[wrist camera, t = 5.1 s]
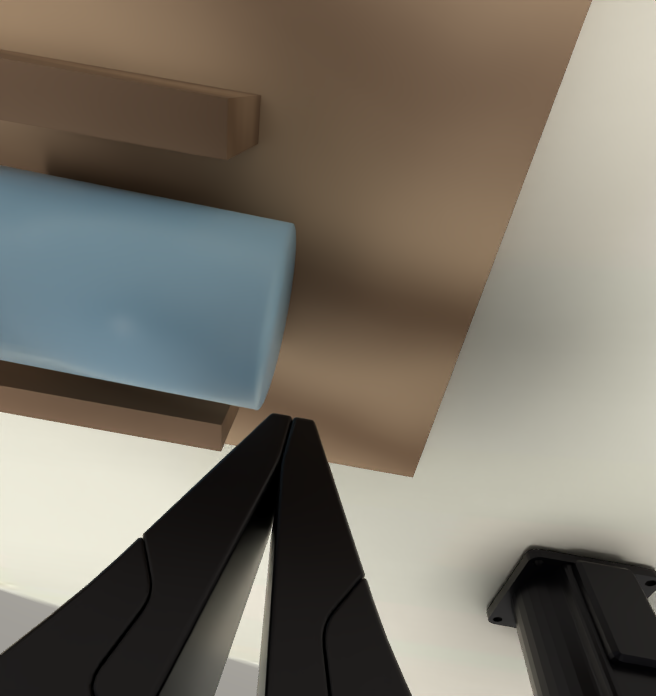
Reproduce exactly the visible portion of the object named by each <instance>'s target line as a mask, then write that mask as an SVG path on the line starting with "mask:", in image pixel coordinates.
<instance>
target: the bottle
mask: <svg viewBox="0 0 656 696" xmlns="http://www.w3.org/2000/svg"><path fill="white" fill-rule="evenodd" d="M295 255H296V229H295V226H294V224H293V223H289V222H284V221H279V220H274V219H269V218H264V217H259V216H254V215H249V214H244V213H239V212H234V211H229V210H224V209H219V208H214V207H209V206H204V205H198V204H193V203H188V202H183V201H178V200H173V199H168V198H163V197H158V196H153V195H148V194H143V193H138V192H133V191H128V190H123V189H118V188H113V187H108V186H103V185H98V184H93V183H88V182H83V181H78V180H73V179H68V178H62V177H57V176H52V175H47V174H42V173H37V172H32V171H27V170H22V169H17V168H12V167H7V166H2V165H0V360H3V361H9V362H14V363H19V364H24V365H29V366H34V367H39V368H44V369H50V370H55V371H60V372H65V373H70V374H75V375H80V376H85V377H91V378H96V379H101V380H106V381H111V382H116V383H121V384H126V385H132V386H137V387H142V388H147V389H152V390H157V391H162V392H167V393H173V394H178V395H183V396H188V397H193V398H198V399H203V400H209V401H214V402H219V403H224V404H229V405H234V406H239V407H244V408H250V409H255V410H259V409H260V408H261V406H262V404H263V403H264V400H265V398H266V396H267V393H268V390H269V387H270V384H271V381H272V378H273V375H274V371H275V367H276V364H277V360H278V356H279V352H280V347H281V343H282V339H283V334H284V329H285V324H286V319H287V314H288V308H289V302H290V296H291V290H292V282H293V275H294V266H295Z"/></svg>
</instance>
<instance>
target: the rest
mask: <svg viewBox="0 0 656 696" xmlns="http://www.w3.org/2000/svg"><path fill="white" fill-rule="evenodd" d="M591 2H592V0H0V165H2V166H7V167H12V168H17V169H22V170H27V171H32V172H37V173H42V174H47V175H52V176H57V177H62V178H68V179H73V180H78V181H83V182H88V183H93V184H98V185H103V186H108V187H113V188H118V189H123V190H128V191H133V192H138V193H143V194H148V195H153V196H158V197H163V198H168V199H173V200H178V201H183V202H188V203H193V204H198V205H204V206H209V207H214V208H219V209H224V210H229V211H234V212H239V213H244V214H249V215H254V216H259V217H264V218H269V219H274V220H279V221H284V222H289V223H293V224H294V226H295V229H296V255H295V266H294V275H293V282H292V290H291V296H290V302H289V308H288V314H287V319H286V324H285V329H284V334H283V339H282V343H281V347H280V352H279V356H278V360H277V364H276V367H275V371H274V375H273V378H272V381H271V384H270V387H269V390H268V393H267V396H266V398H265V400H264V403H263V404H262V406H261V408H260V409H259V410H255V409H250V408H244V407H239V406H234V405H229V404H224V403H219V402H214V401H209V400H203V399H198V398H193V397H188V396H183V395H178V394H173V393H167V392H162V391H157V390H152V389H147V388H142V387H137V386H132V385H126V384H121V383H116V382H111V381H106V380H101V379H96V378H91V377H85V376H80V375H75V374H70V373H65V372H60V371H55V370H50V369H44V368H39V367H34V366H29V365H24V364H19V363H14V362H9V361H3V360H0V412H4V413H10V414H16V415H21V416H27V417H32V418H38V419H43V420H49V421H54V422H60V423H66V424H71V425H77V426H82V427H88V428H93V429H99V430H105V431H110V432H116V433H121V434H127V435H132V436H138V437H143V438H149V439H155V440H160V441H166V442H171V443H177V444H182V445H188V446H193V447H199V448H205V449H210V450H216V451H221V450H222V448H223V446H224V443H225V444H230V445H236V446H237V445H238V444H239V443H240V442H241V441H242V440H243V439H244V438H245V437H247V436H248V435H249V434H250V433H251V432H252V431H253V430H254V429H255V428H256V427H257V426H258V425H259V424H260V423H261V422H262V421H264V420H265V419H266V418H267V417H268V416H269V415H270V414H272V413H278V414H283V415H289V416H291V417H292V420H293V418H295V417H300V418H306V419H311V420H313V421H314V422H315V424H316V427H317V430H318V433H319V436H320V439H321V442H322V445H323V448H324V451H325V454H326V457H327V460H328V462H330V463H336V464H342V465H347V466H353V467H358V468H364V469H369V470H375V471H380V472H386V473H392V474H397V475H403V476H408V477H413V476H414V473H415V470H416V468H417V465H418V462H419V460H420V457H421V454H422V452H423V449H424V446H425V444H426V441H427V438H428V436H429V433H430V430H431V428H432V425H433V422H434V420H435V417H436V414H437V412H438V409H439V406H440V404H441V401H442V398H443V396H444V393H445V390H446V388H447V385H448V382H449V380H450V377H451V374H452V372H453V369H454V366H455V364H456V361H457V358H458V356H459V353H460V350H461V348H462V345H463V342H464V340H465V337H466V334H467V332H468V329H469V326H470V324H471V321H472V318H473V316H474V313H475V310H476V308H477V305H478V302H479V300H480V297H481V294H482V292H483V289H484V286H485V284H486V281H487V278H488V276H489V273H490V271H491V268H492V265H493V263H494V260H495V257H496V255H497V252H498V249H499V247H500V244H501V241H502V239H503V236H504V233H505V231H506V228H507V225H508V223H509V220H510V217H511V215H512V212H513V209H514V207H515V204H516V201H517V199H518V196H519V193H520V191H521V188H522V185H523V183H524V180H525V177H526V175H527V172H528V169H529V167H530V164H531V161H532V159H533V156H534V153H535V151H536V148H537V145H538V143H539V140H540V137H541V135H542V132H543V129H544V127H545V124H546V121H547V119H548V116H549V113H550V111H551V108H552V105H553V103H554V100H555V97H556V95H557V92H558V89H559V87H560V84H561V81H562V79H563V76H564V73H565V71H566V68H567V65H568V63H569V60H570V57H571V55H572V52H573V49H574V47H575V44H576V41H577V39H578V36H579V33H580V31H581V28H582V25H583V23H584V20H585V17H586V15H587V12H588V9H589V7H590V4H591Z"/></svg>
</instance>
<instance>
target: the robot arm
mask: <svg viewBox="0 0 656 696" xmlns="http://www.w3.org/2000/svg"><path fill="white" fill-rule="evenodd" d="M272 524H273V526H272ZM271 528H272V534H271V542H270V553H269V564H268V575H267V586H266V597H265V608H264V619H263V630H262V641H261V652H260V663H259V674H258V685H257V696H412V695H411V693H410V690H409V688H408V686H407V684H406V682H405V679H404V677H403V674H402V672H401V670H400V667H399V665H398V663H397V660H396V658H395V656H394V653H393V651H392V649H391V646H390V644H389V641H388V639H387V636H386V634H385V631H384V628H383V625H382V622H381V620H380V617H379V614H378V611H377V609H376V606H375V603H374V600H373V597H372V594H371V591H370V588H369V585H368V582H367V580H366V579H365V578H364V576H365V573H364V570H363V567H362V564H361V561H360V558H359V555H358V552H357V549H356V546H355V543H354V540H353V537H352V534H351V531H350V528H349V525H348V521H347V518H346V515H345V512H344V509H343V506H342V503H341V500H340V497H339V494H338V491H337V488H336V485H335V482H334V479H333V476H332V473H331V470H330V467H329V463H328V460H327V457H326V454H325V451H324V448H323V445H322V442H321V439H320V436H319V433H318V430H317V427H316V424H315V422H314V421H313V420H311V419H306V418H300V417H295V418H293V420H292V417H291V416H289V415H283V414H278V413H272V414H270V415H269V416H268V417H267V418H266V419H265V420H264V421H262V422H261V423H260V424H259V425H258V426H257V427H256V428H255V429H254V430H253V431H252V432H251V433H250V434H249V435H248V436H247V437H245V438H244V439H243V440H242V441H241V442H240V443H239V444H238V445H237V446H236V447H235V448H234V449H233V450H232V451H231V452H230V453H229V454H227V455H226V456H225V457H224V458H223V459H222V460H221V461H220V462H219V463H218V464H217V465H216V466H215V467H214V468H213V469H212V470H210V471H209V472H208V473H207V474H206V475H205V476H204V477H203V478H202V479H201V480H200V481H199V482H198V483H197V484H196V485H195V486H194V487H192V488H191V489H190V490H189V491H188V492H187V493H186V494H185V495H184V496H183V497H182V498H181V499H180V500H179V501H178V502H177V503H175V504H174V505H173V506H172V507H171V508H170V509H169V510H168V511H167V512H166V513H165V514H164V515H163V516H162V517H161V518H160V519H159V520H157V521H156V522H155V523H154V524H153V525H152V526H151V527H150V528H149V529H148V530H147V531H146V532H145V533H144V534H143V538H138V539H137V540H136V541H135V542H134V543H133V544H132V545H131V546H130V547H129V548H127V549H126V550H125V551H124V552H123V553H122V554H121V555H120V556H119V557H118V558H117V559H116V560H115V561H113V562H112V563H111V564H110V565H109V566H108V567H107V568H106V569H105V570H103V571H102V572H101V573H100V574H99V575H98V576H97V577H96V578H94V579H93V580H92V581H91V582H90V583H89V584H88V585H87V586H85V587H84V588H83V589H82V590H80V591H79V592H78V593H77V594H75V595H74V596H73V597H72V598H71V599H69V600H68V601H67V602H66V603H64V604H63V605H62V606H61V607H59V608H58V609H57V610H56V611H55V612H53V613H52V614H51V615H50V616H49V617H47V618H46V619H45V620H43V621H42V622H41V623H40V624H38V625H37V626H36V627H34V628H33V629H32V630H31V631H29V632H28V633H27V634H25V635H24V636H23V637H22V638H20V639H19V640H18V641H16V642H15V643H14V644H13V645H11V646H10V647H9V648H8V649H6V650H5V651H4V652H3V653H1V654H0V696H214V695H215V692H216V689H217V687H218V683H219V681H220V678H221V675H222V672H223V669H224V666H225V663H226V660H227V658H228V655H229V652H230V649H231V646H232V643H233V640H234V637H235V634H236V631H237V629H238V626H239V623H240V620H241V617H242V614H243V611H244V608H245V605H246V602H247V600H248V597H249V594H250V591H251V588H252V585H253V582H254V579H255V576H256V573H257V571H258V568H259V565H260V562H261V559H262V556H263V553H264V550H265V547H266V544H267V541H268V538H269V535H270V532H271ZM655 591H656V571H655V570H652V569H646V568H641V567H635V566H629V565H624V564H618V563H613V562H607V561H602V560H596V559H591V558H585V557H579V556H574V555H568V554H563V553H557V552H552V551H546V550H541V549H534V550H530V551H528V552H527V553H526V554H525V555H524V557H523V558H522V560H521V561H520V563H519V564H518V566H517V567H516V569H515V570H514V572H513V573H512V575H511V576H510V578H509V579H508V580H507V582H506V583H505V585H504V586H503V588H502V589H501V591H500V592H499V594H498V595H497V597H496V598H495V600H494V601H493V602H492V604H491V605H490V607H489V608H488V610H487V616H488V620H489V622H491V623H493V624H498V625H503V626H509V627H514V628H517V632H518V636H519V640H520V644H521V648H522V652H523V656H524V659H525V663H526V667H527V671H528V675H529V679H530V683H531V687H532V691H533V695H534V696H656V615H655V613H654V611H653V609H652V607H651V605H650V603H649V602H648V600H647V598H648V597H649V596H650V595H651V594H652V593H653V592H655Z"/></svg>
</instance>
